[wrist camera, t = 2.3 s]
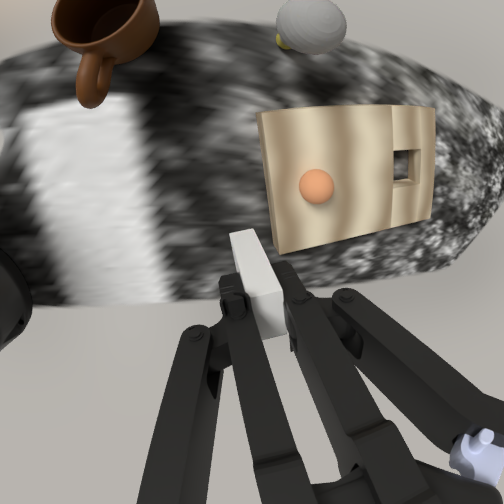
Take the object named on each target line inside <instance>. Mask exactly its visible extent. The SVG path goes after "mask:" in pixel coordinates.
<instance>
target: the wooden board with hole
mask: <svg viewBox="0 0 504 504" xmlns="http://www.w3.org/2000/svg"><path fill="white" fill-rule="evenodd" d="M256 118H257V125H258V132H259V139H260V146H261V153H262V160H263V167H264V174H265V182H266V189H267V196H268V204H269V212H270V220H271V227H272V235H273V243H274V246H275V248H276V249H277V251H278V253H279V254H280V255H281V254H285V253H289V252H293V251H298V250H302V249H306V248H310V247H314V246H319V245H323V244H327V243H331V242H335V241H339V240H344V239H348V238H352V237H356V236H360V235H364V234H368V233H372V232H377V231H381V230H385V229H389V228H393V227H397V226H401V225H405V224H409V223H413V222H417V221H421V220H425V219H429V218H430V215H431V207H432V197H433V185H434V169H435V108H430V107H423V106H408V105H331V106H314V107H302V108H291V109H281V110H272V111H264V112H257V113H256ZM395 150H408V179H402V180H395V181H393V151H395ZM312 169H320V170H323V171H325V172H327V173H328V174H329V175H330V176H331V178H332V180H333V182H334V192H333V195H332V196H331V198H330V199H329V200H328V201H326V202H325V203H322V204H312V203H309V202H308V201H306V200H305V199H304V198H303V197H302V195H301V193H300V191H299V182H300V179H301V177H302V176H303V175H304V174H305V173H306V172H307V171H309V170H312Z"/></svg>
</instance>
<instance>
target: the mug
mask: <svg viewBox="0 0 504 504" xmlns="http://www.w3.org/2000/svg"><path fill="white" fill-rule="evenodd" d="M51 26H52V31H53V33H54V35H55V37H56V38H57V40H58V41H59V42H61V43H62V44H63V45H65V46H66V47H68V48H69V49H71V50H73V51H75V52H77V53H79V54H82V59H81V62H80V66H79V69H78V72H77V78H76V95H77V98H78V101H79V102H80V104H81V105H82V106H83V107H85V108H89V109H93V108H96V107H98V106H99V105H100V104H101V103H102V102H103V101H104V99H105V97H106V96H107V93H108V90H109V86H110V81H111V75H112V69H113V66H114V65H115V64H122V63H126V62H129V61H132V60H134V59H136V58H137V57H139V56H140V55H142V54H143V53H144V52H145V51H147V50H148V49H149V47H150V46H151V45H152V44H153V42H154V40H155V39H156V37H157V34H158V31H159V26H160V20H159V15H158V11H157V8H156V4H155V1H154V0H57V2H56V4H55V6H54V9H53V12H52V17H51Z"/></svg>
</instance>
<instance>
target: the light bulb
mask: <svg viewBox="0 0 504 504" xmlns="http://www.w3.org/2000/svg"><path fill="white" fill-rule="evenodd" d="M346 26H347V25H346V20H345V17H344V15H343V13H342V11H341V10H340V9H339V7H338V6H337V5H336V4H334V3H333V2H331V1H330V0H289V1H287V2H286V3H285V4H284V5H283V6H282V7H281V8H280V10H279V12H278V15H277V20H276V27H277V31H278V34H277V36H276V42H277V44H278V45H279V46H280V47H281V48H283V49H291V48H292V49H294V50H296V51H298V52H301V53H304V54H312V55H319V54H324V53H327V52H329V51H332V50H334V49H335V48H337V47H338V46H339V45H340V44H341V42H342V41H343V39H344V37H345V34H346V28H347V27H346Z"/></svg>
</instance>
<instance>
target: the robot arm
mask: <svg viewBox="0 0 504 504" xmlns="http://www.w3.org/2000/svg"><path fill="white" fill-rule="evenodd" d="M229 235H230V240H231V245H232V249H233V254H234V259H235V264H236V269H237V273H233V274H229V275H224V276H221V278H220V280H219V282H218V283H219V289H220V294H221V299H220V307H221V311H222V314H223V317H222V319H221V320H220V321H219V322H218V323H217V324H215V325H214V326H212V327H210V328H208V327H206V326H204V325H193V326H191V327H188V328H187V329H186V330H185V331H183V333H182V335H181V338H180V341H179V344H178V348H177V351H176V354H175V357H174V361H173V365H172V368H171V371H170V375H169V378H168V382H167V385H166V389H165V392H164V396H163V399H162V403H161V406H160V410H159V414H158V417H157V421H156V425H155V429H154V433H153V437H152V441H151V444H150V448H149V452H148V456H147V460H146V465H145V469H144V473H143V477H142V481H141V486H140V490H139V495H138V499H137V504H206V500H207V492H208V484H209V476H210V468H211V460H212V453H213V446H214V438H215V431H216V423H217V416H218V408H219V402H220V394H221V387H222V380H223V373H224V370H223V369H225V368H227V367H229V366H230V365H232V366H233V371H234V376H235V381H236V386H237V391H238V395H239V401H240V405H241V410H242V415H243V419H244V423H245V428H246V433H247V437H248V442H249V445H250V450H251V455H252V458H253V468H254V473H255V478H256V482H257V486H258V490H259V494H260V498H261V502H262V504H503V501H502V497H501V494H500V492H499V491H498V490H497V489H496V488H495V487H496V485H497V482H498V480H499V478H500V475H501V472H502V470H503V467H504V401H502V400H499V399H497V398H494V397H491V396H489V395H486V394H484V393H482V392H481V391H480V390H479V389H478V388H477V387H475V386H474V385H473V384H472V383H471V382H469V381H468V380H467V379H466V378H465V377H464V376H462V375H461V374H460V373H459V372H458V371H457V370H455V369H454V368H453V367H451V365H449V364H448V363H447V362H446V361H445V360H443V359H442V358H441V357H440V356H439V355H437V354H436V353H435V352H434V351H432V350H431V349H430V348H429V347H428V346H426V345H425V344H424V343H422V342H421V341H420V340H419V339H417V338H416V337H415V336H414V335H413V334H411V333H410V332H409V331H408V330H406V329H405V328H404V327H403V326H401V325H400V324H399V323H398V322H396V321H395V320H394V319H393V318H391V317H390V316H389V315H387V314H386V313H385V312H384V311H382V310H381V309H380V308H378V307H377V306H376V305H374V304H373V303H372V302H371V301H369V300H368V299H367V298H365V297H364V296H363V295H362V294H360V293H359V292H358V291H356V290H354V289H351V288H341V289H338V290H337V291H335V292H334V293H333V295H332V298H318V297H315V296H314V295H313V294H312V293H311V292H309V291H306V289H305V287H304V286H303V284H302V282H301V281H300V279H299V277H298V276H297V274H296V272H295V271H294V269H293V267H292V265H291V264H289V263H287V262H286V261H283V262H278V263H274V264H270V263H269V260H268V258H267V256H266V254H265V252H264V250H263V248H262V246H261V244H260V242H259V240H258V238H257V235H256V233H255V231H254V229H248V230H243V231H239V232H234V233H230V234H229ZM31 315H32V298H31V294H30V291H29V288H28V285H27V283H26V281H25V279H24V277H23V275H22V274H21V272H20V270H19V269H18V268H17V266H16V265H15V264H14V262H13V261H12V260H11V259H10V258H9V257H8V256H7V255H6V254H5V253H4V252H3V251H2V250H1V249H0V351H1V350H2V349H3V348H4V347H6V346H7V345H8V344H9V343H10V342H11V341H13V340H14V339H15V338H16V337H17V336H18V335H20V334H21V333H22V332H23V331H24V329H25V327H26V325H27V324H28V322H29V319H30V318H31ZM286 328H287V329H286ZM287 330H288V332H289V338H290V350H291V352H292V351H294V353H295V356H296V358H297V360H298V363H299V366H300V368H301V371H302V373H303V375H304V378H305V380H306V383H307V385H308V388H309V390H310V393H311V395H312V398H313V400H314V403H315V405H316V408H317V410H318V413H319V415H320V418H321V420H322V423H323V425H324V428H325V430H326V433H327V435H328V438H329V440H330V442H331V445H332V448H333V450H334V453H335V455H336V457H337V461H338V468H339V472H340V475H341V479H340V480H338V481H336V482H330V483H321V484H310V481H309V478H308V475H307V472H306V469H305V466H304V463H303V461H302V458H301V456H300V454H299V452H298V450H297V448H296V444H295V442H294V439H293V435H292V432H291V429H290V426H289V423H288V420H287V417H286V414H285V411H284V408H283V405H282V402H281V399H280V396H279V393H278V390H277V387H276V383H275V381H274V377H273V374H272V371H271V368H270V364H269V361H268V358H267V355H266V352H265V349H264V346H263V342H262V340H265V339H269V338H273V337H277V336H281V335H285V334H287ZM355 366H356V367H357V368H358V369H359V370H360V371H361V372H362V373H363V374H365V376H366V377H367V378H368V379H369V380H370V381H371V382H372V383H373V384H374V385H375V386H376V387H377V388H378V389H379V390H380V391H381V392H382V393H383V394H384V395H385V396H386V397H387V398H388V399H389V400H390V401H391V402H392V403H393V404H394V405H395V406H396V407H397V408H398V409H399V410H400V411H401V412H402V413H403V414H404V415H405V416H406V417H407V418H408V419H409V420H410V421H411V422H412V423H413V424H414V425H415V426H416V427H417V428H418V429H419V430H420V431H421V432H422V433H423V434H424V435H425V436H426V437H427V438H428V439H429V440H430V441H431V442H432V443H433V444H434V445H436V446H437V447H438V448H440V449H441V450H443V451H444V452H446V453H448V454H450V461H449V465H450V467H451V468H453V469H456V470H458V471H459V472H460V474H461V476H460V475H457V474H454V473H451V472H448V471H445V470H442V469H440V468H437V467H434V466H432V465H429V464H426V463H424V462H421V461H419V460H415V459H414V458H413V456H412V454H411V452H410V450H409V448H408V446H407V445H406V443H405V441H404V439H403V437H402V435H401V433H400V432H399V430H398V428H397V426H396V425H395V424H394V423H393V422H392V421H391V420H386V419H385V418H384V417H383V415H382V414H381V412H380V410H379V408H378V406H377V405H376V403H375V401H374V399H373V397H372V395H371V394H370V392H369V390H368V388H367V386H366V385H365V383H364V381H363V379H362V378H361V376H360V374H359V372H358V370H357V369H356V367H355Z"/></svg>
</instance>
